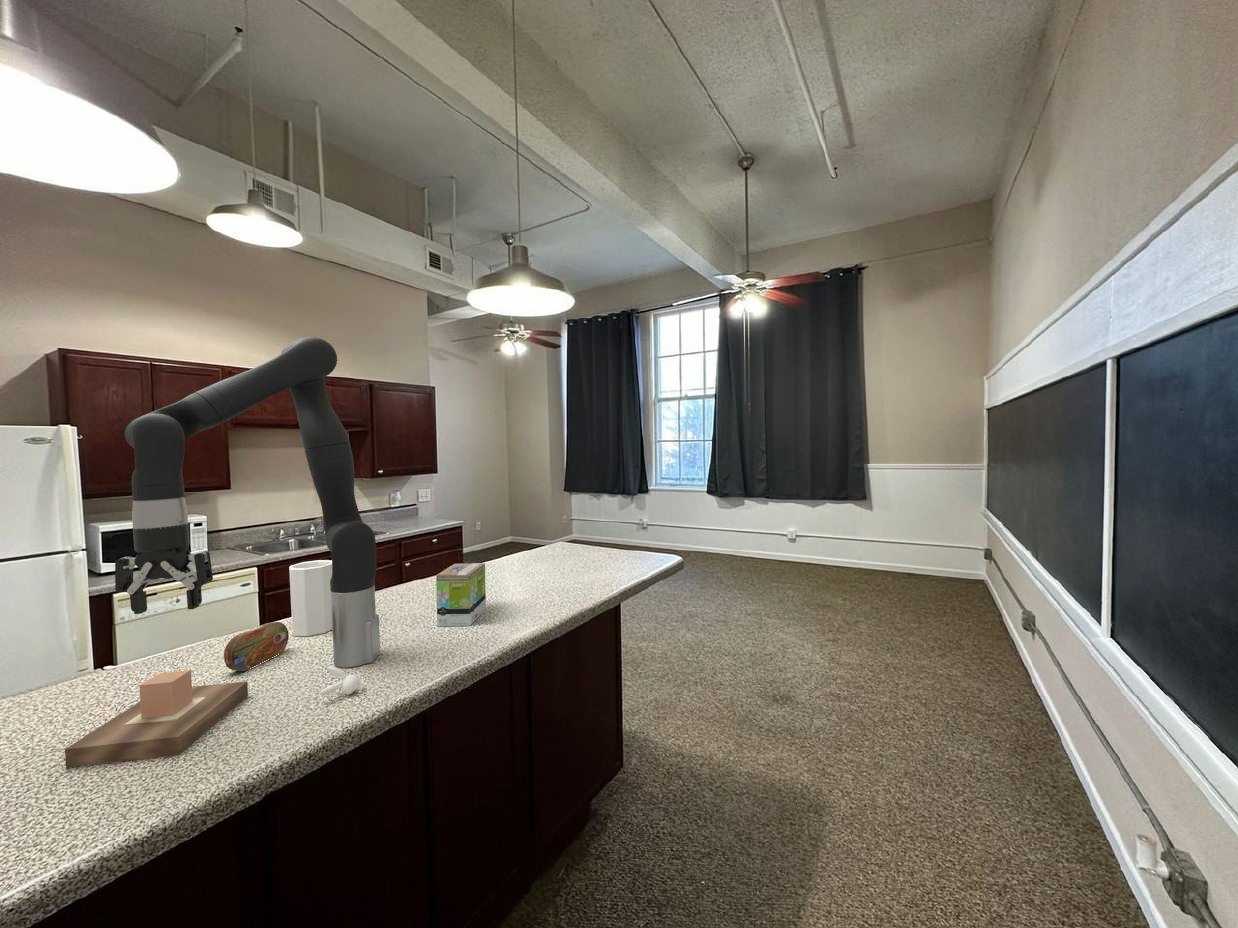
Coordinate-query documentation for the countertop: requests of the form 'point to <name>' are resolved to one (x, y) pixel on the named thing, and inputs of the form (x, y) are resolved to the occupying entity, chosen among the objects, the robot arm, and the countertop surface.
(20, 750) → the countertop surface
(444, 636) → the countertop surface
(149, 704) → the block
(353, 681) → the rabbit figurine
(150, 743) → the plinth
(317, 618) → the cup
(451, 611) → the tea box
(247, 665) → the tin
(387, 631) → the countertop surface
